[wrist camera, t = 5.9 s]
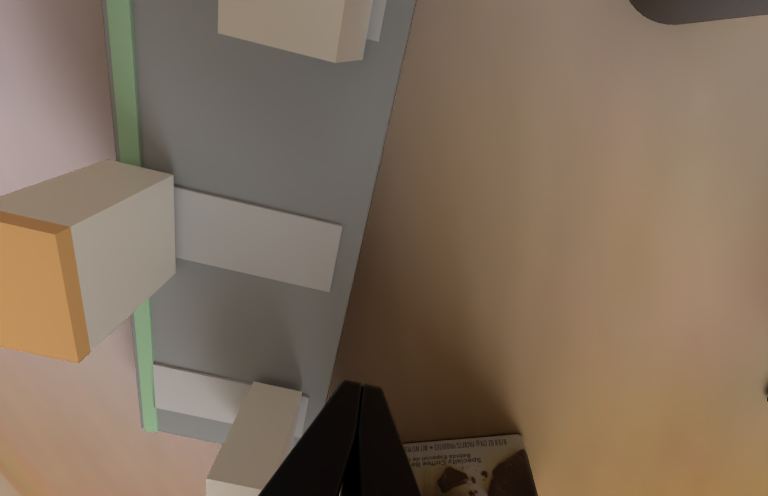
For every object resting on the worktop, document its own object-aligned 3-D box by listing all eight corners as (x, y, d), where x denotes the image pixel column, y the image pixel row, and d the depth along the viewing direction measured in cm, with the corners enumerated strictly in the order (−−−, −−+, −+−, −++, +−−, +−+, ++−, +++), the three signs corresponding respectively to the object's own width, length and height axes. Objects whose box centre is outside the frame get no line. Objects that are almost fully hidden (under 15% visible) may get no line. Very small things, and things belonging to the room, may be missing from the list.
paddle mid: (173, 174, 12) (54, 234, 8) (175, 273, 13) (78, 363, 10) (107, 159, 12) (-45, 211, 8) (118, 260, 13) (-4, 346, 9)
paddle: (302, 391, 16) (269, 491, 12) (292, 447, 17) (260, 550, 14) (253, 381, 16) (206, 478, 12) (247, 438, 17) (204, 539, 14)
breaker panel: (446, -133, 10) (454, -176, 8) (320, 425, 20) (311, 464, 18) (137, -220, 10) (71, -286, 8) (165, 393, 20) (139, 429, 18)
